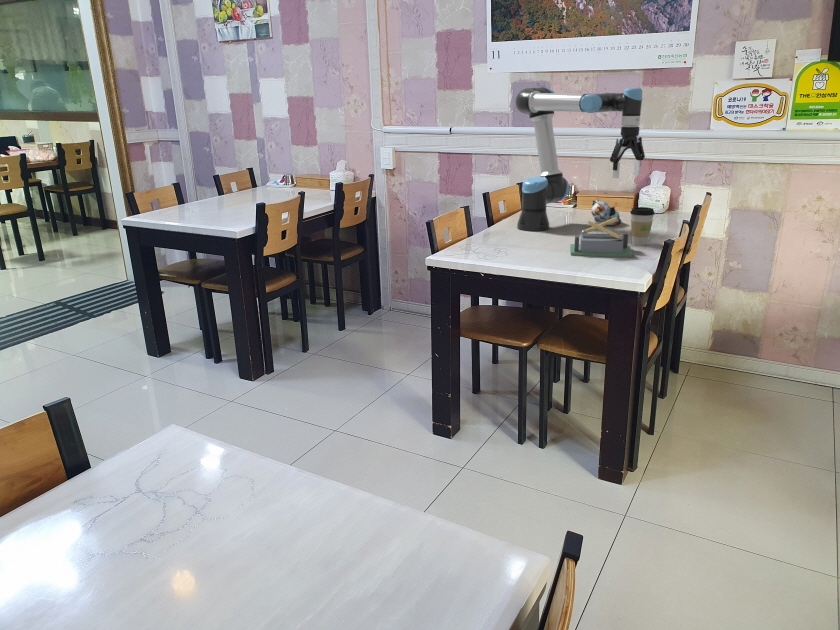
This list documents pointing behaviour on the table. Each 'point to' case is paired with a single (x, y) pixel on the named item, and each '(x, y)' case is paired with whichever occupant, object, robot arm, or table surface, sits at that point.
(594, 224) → the strap
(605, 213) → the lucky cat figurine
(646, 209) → the coffee cup
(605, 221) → the rear strap
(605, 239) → the heatsink module
